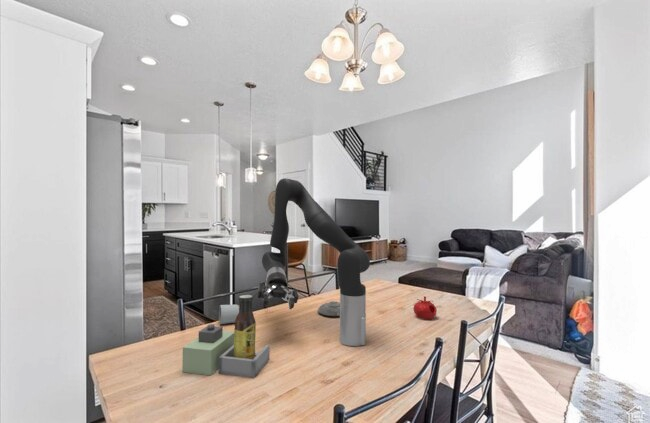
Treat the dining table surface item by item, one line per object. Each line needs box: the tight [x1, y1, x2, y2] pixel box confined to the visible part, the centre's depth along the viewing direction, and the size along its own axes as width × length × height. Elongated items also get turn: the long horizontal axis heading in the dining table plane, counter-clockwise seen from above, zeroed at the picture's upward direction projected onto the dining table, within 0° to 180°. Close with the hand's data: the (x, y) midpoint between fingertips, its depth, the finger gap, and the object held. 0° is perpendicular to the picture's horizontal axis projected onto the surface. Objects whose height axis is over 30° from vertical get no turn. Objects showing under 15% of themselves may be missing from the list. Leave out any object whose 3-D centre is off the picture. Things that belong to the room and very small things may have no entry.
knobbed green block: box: [182, 323, 271, 378], centre depth 92 cm, size 22×14×11 cm, turn 79°
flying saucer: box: [317, 300, 340, 317], centre depth 141 cm, size 15×15×6 cm
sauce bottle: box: [233, 294, 257, 359], centre depth 91 cm, size 6×6×20 cm
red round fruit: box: [412, 296, 438, 321], centre depth 136 cm, size 10×10×9 cm
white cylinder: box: [218, 304, 239, 326], centre depth 129 cm, size 11×8×8 cm
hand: (279, 305), depth 102 cm, fingers open, 8 cm apart
